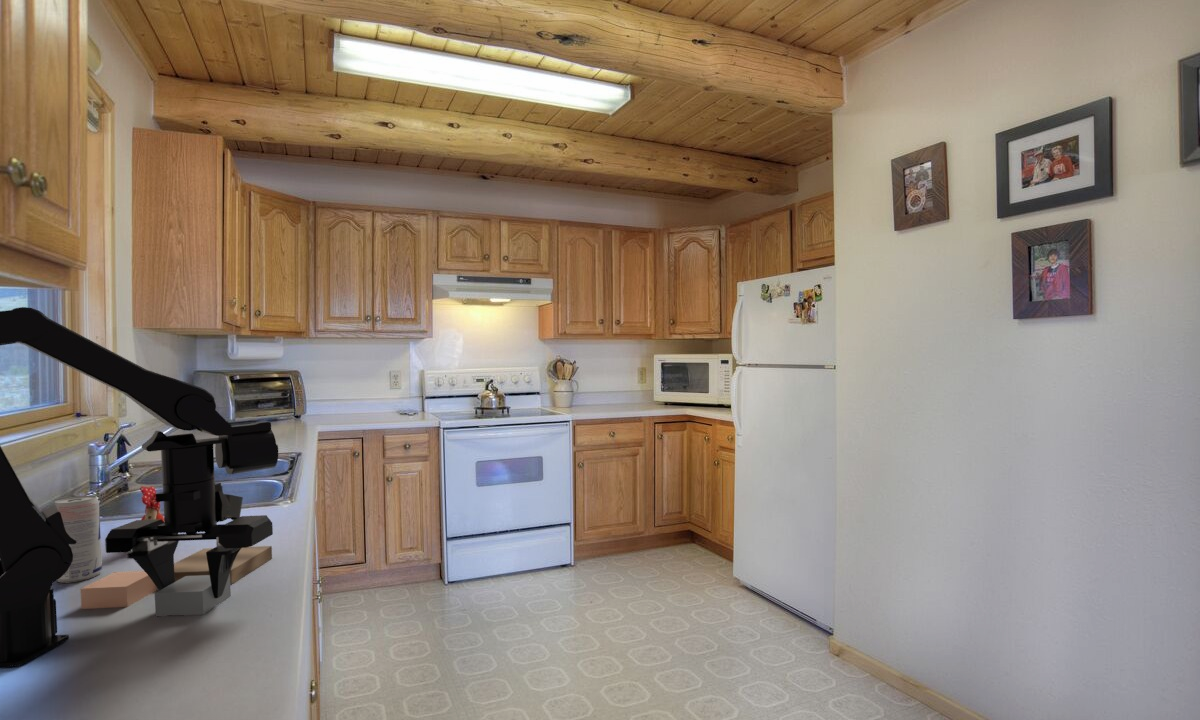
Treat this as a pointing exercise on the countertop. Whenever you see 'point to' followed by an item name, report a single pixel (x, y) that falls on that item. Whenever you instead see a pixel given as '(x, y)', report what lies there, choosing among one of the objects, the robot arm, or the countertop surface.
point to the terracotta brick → (117, 590)
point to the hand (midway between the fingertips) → (194, 597)
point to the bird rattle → (150, 504)
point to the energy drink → (82, 536)
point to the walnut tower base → (242, 565)
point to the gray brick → (189, 596)
